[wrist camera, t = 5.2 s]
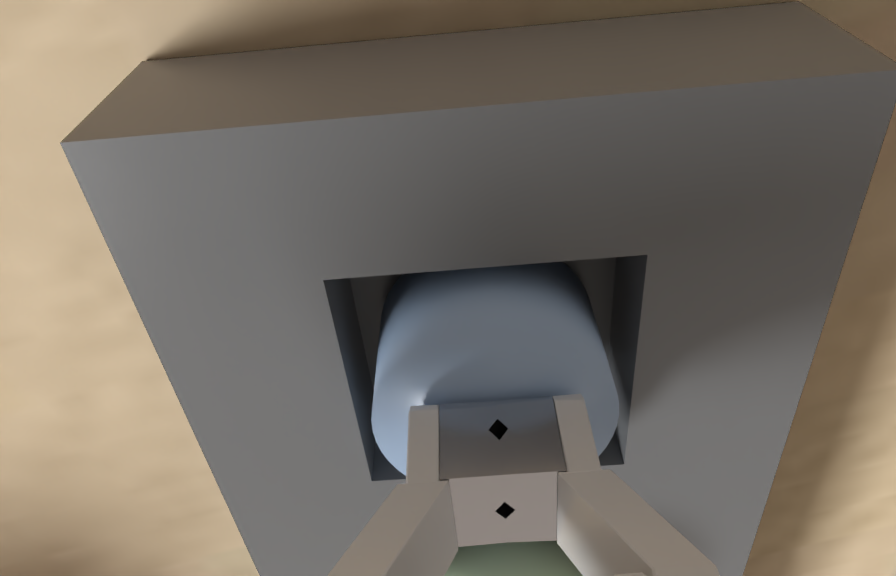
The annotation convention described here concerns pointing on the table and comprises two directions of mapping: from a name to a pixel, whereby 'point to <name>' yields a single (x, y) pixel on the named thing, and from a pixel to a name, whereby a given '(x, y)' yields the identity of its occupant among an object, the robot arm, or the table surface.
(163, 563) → the table surface
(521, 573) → the button sage
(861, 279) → the table surface
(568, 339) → the button slate
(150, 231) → the console
